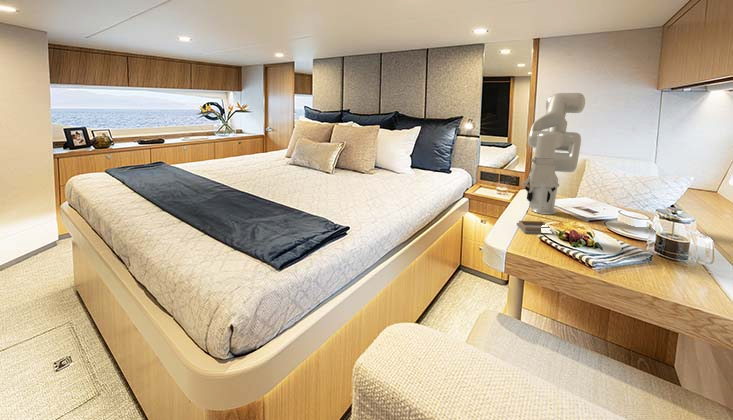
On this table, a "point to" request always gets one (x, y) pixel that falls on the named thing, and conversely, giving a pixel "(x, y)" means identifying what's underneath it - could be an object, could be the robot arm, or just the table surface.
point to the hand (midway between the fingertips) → (537, 200)
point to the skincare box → (539, 197)
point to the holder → (531, 226)
